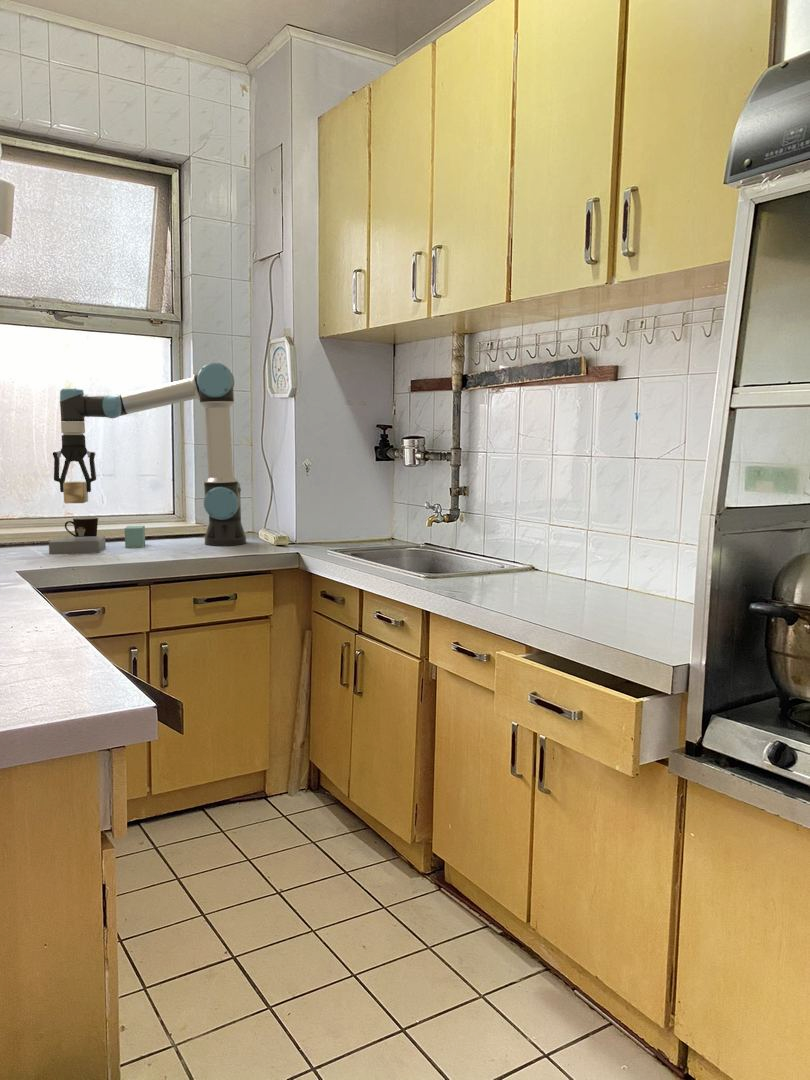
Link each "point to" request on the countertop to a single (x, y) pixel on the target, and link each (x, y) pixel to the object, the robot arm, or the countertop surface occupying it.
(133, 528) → the teal brick
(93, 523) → the coffee mug
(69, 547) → the slate plinth
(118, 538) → the countertop surface
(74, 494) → the oak brick
